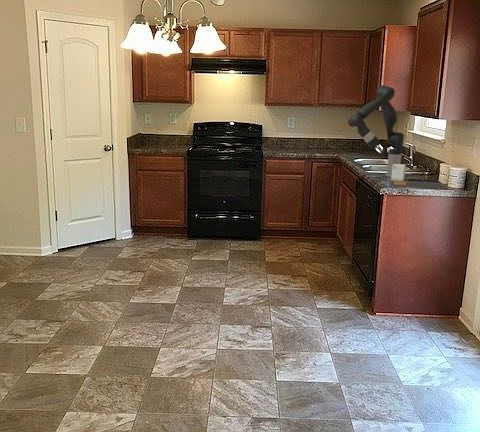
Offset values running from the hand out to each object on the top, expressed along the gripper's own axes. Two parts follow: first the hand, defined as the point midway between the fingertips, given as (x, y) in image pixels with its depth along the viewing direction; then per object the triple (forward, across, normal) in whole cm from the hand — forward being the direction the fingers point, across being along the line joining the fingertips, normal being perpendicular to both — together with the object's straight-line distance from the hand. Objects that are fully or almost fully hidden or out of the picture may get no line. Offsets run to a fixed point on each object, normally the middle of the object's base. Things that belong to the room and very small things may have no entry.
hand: (386, 156), depth 352 cm
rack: (+29, 0, -1) cm, 29 cm away
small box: (+20, 0, +6) cm, 21 cm away
